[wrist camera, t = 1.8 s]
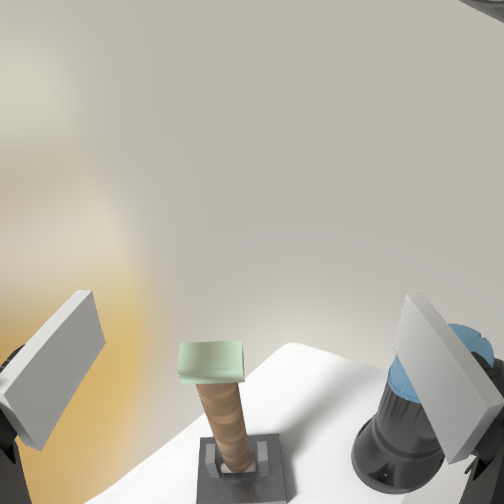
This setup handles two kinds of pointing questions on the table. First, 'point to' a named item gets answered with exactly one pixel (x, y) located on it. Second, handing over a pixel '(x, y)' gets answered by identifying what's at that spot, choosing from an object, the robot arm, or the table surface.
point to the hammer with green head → (220, 397)
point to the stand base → (242, 475)
